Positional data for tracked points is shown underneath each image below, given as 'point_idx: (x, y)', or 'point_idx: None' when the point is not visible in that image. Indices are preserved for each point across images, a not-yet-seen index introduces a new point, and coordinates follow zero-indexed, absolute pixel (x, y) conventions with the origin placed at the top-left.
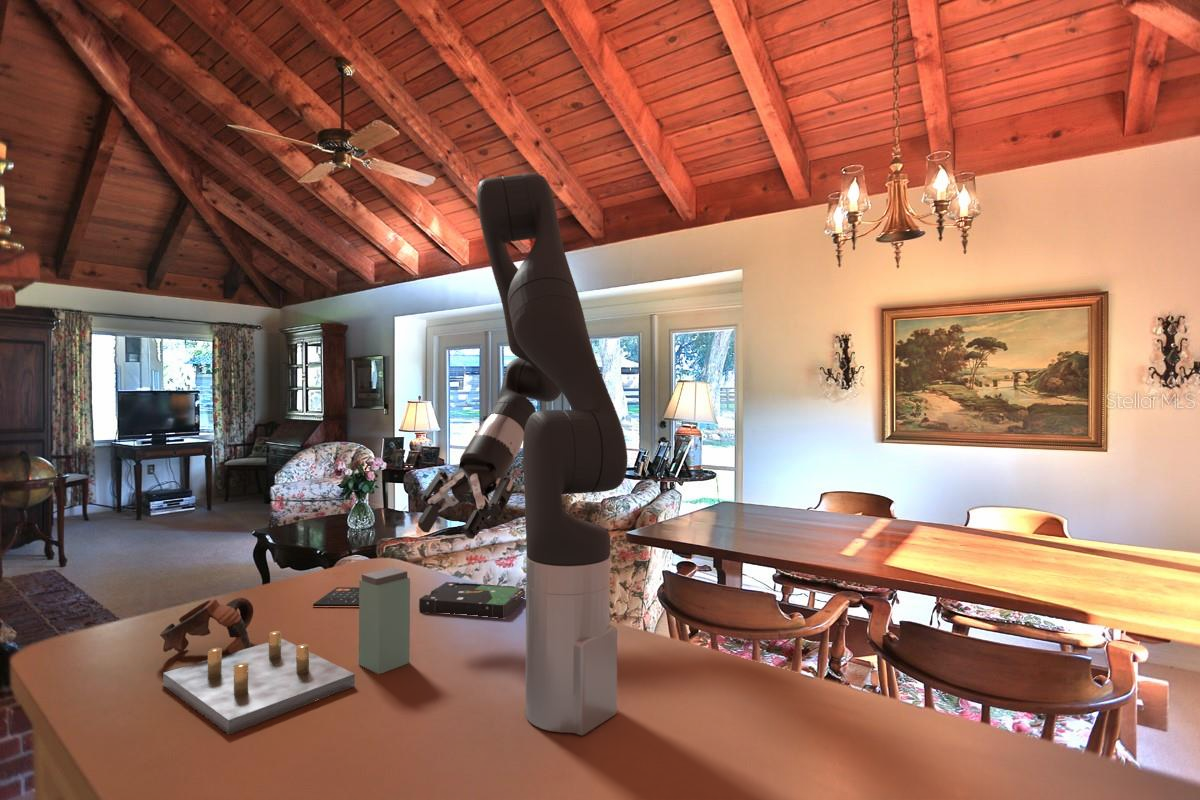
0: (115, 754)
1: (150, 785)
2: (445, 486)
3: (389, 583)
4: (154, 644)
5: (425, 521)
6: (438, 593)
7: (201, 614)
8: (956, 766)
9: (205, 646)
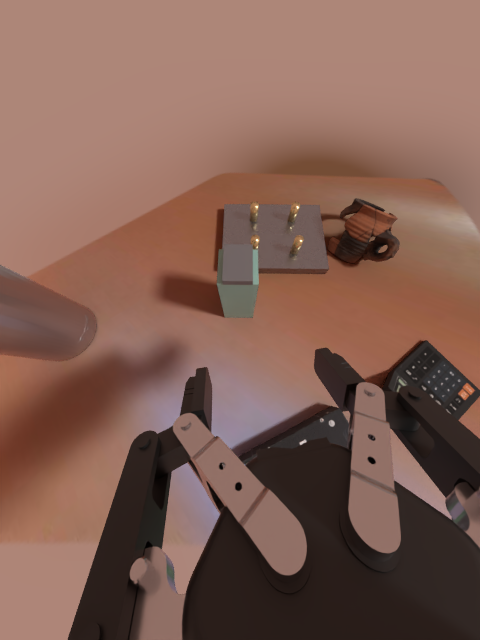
0: (249, 181)
1: (209, 182)
2: (378, 438)
3: (218, 260)
4: (400, 228)
5: (322, 360)
6: (343, 441)
7: (357, 204)
8: None
9: None
